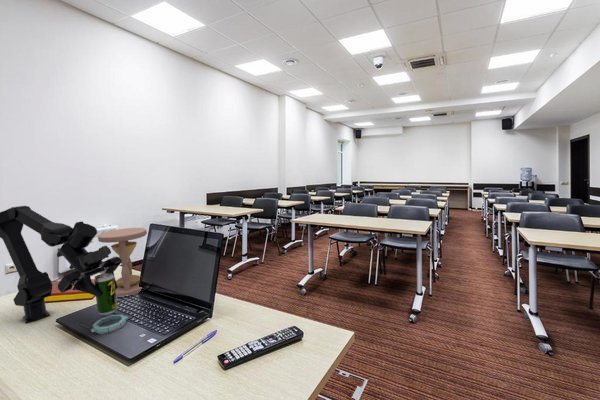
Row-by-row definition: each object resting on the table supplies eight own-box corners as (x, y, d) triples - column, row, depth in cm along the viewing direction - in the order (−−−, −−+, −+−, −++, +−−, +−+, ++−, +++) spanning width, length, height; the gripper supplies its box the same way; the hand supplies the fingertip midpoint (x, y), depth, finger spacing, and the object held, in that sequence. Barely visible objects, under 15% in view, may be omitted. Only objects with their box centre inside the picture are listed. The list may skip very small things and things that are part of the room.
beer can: (95, 316, 93) (91, 280, 92) (100, 309, 98) (96, 274, 97) (115, 313, 95) (111, 277, 94) (119, 306, 100) (115, 271, 99)
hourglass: (114, 284, 134) (107, 229, 131) (156, 279, 138) (150, 226, 135) (97, 301, 117) (89, 239, 114) (146, 294, 121) (139, 234, 118)
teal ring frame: (87, 328, 96) (87, 323, 96) (122, 315, 104) (121, 311, 104) (96, 338, 91) (96, 332, 90) (132, 324, 98) (132, 318, 98)
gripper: (59, 248, 86) (94, 288, 85) (114, 233, 104) (144, 266, 102) (43, 273, 89) (76, 312, 88) (99, 254, 107) (127, 286, 105)
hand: (109, 292), depth 96 cm, fingers closed on beer can, 5 cm apart
